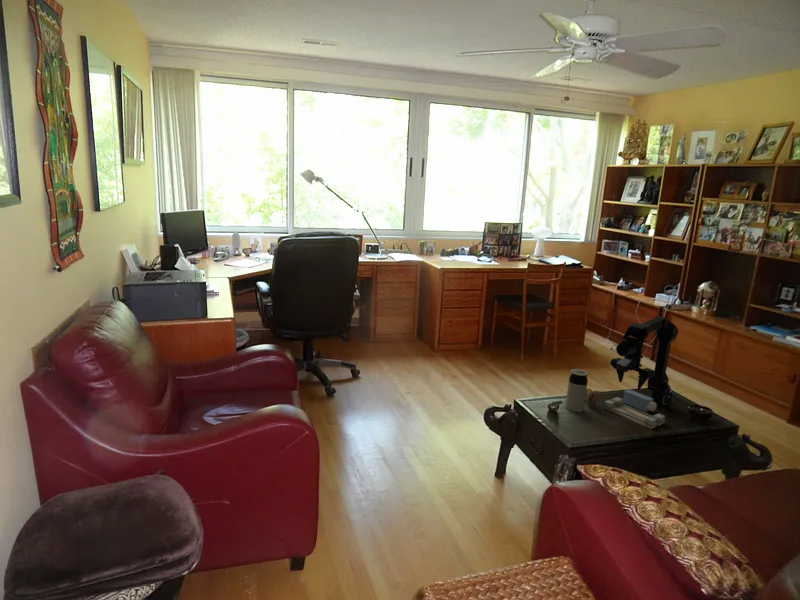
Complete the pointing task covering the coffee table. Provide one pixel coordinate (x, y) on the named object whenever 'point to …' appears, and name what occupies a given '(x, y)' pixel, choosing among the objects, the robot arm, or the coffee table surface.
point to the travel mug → (576, 390)
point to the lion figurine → (593, 397)
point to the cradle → (633, 413)
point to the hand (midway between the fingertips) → (629, 385)
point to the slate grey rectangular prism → (639, 401)
